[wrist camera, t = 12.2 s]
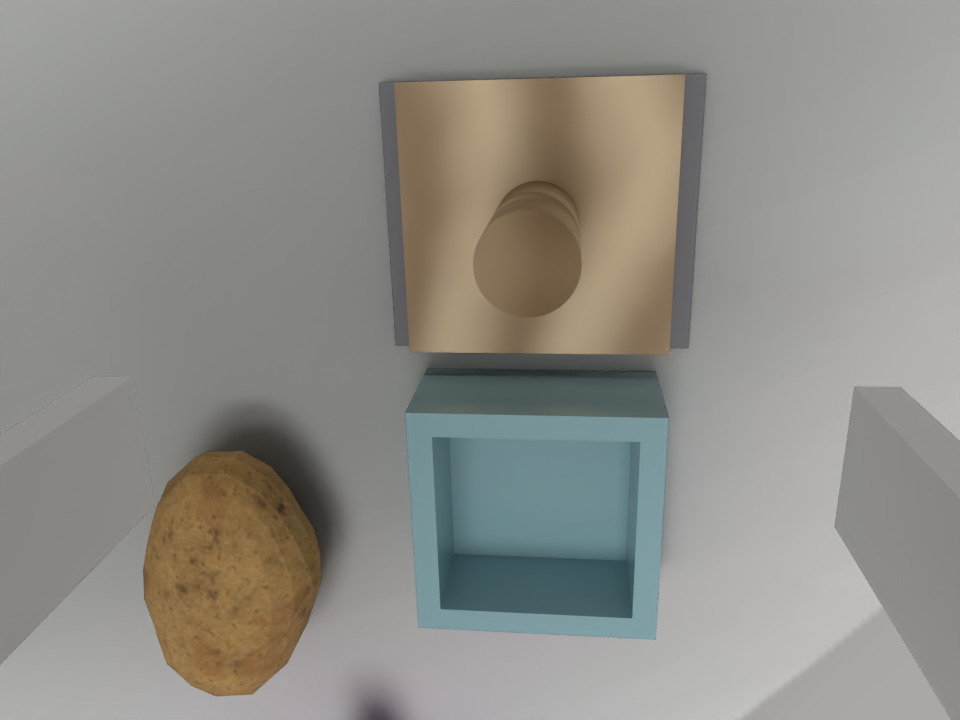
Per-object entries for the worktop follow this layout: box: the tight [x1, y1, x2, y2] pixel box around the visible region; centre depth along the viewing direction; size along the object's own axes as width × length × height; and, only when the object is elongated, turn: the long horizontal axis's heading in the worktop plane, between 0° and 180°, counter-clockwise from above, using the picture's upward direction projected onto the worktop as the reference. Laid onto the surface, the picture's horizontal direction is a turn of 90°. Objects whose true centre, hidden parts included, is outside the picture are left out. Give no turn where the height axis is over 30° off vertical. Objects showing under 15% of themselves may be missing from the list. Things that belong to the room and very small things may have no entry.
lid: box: [394, 74, 685, 355], centre depth 34 cm, size 13×13×10 cm
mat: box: [379, 74, 706, 348], centre depth 39 cm, size 15×13×1 cm
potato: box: [143, 451, 321, 696], centre depth 43 cm, size 10×14×8 cm
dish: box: [405, 369, 669, 640], centre depth 41 cm, size 12×12×6 cm
